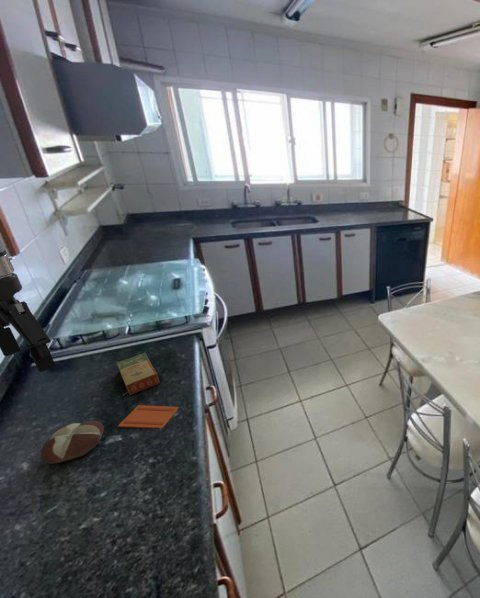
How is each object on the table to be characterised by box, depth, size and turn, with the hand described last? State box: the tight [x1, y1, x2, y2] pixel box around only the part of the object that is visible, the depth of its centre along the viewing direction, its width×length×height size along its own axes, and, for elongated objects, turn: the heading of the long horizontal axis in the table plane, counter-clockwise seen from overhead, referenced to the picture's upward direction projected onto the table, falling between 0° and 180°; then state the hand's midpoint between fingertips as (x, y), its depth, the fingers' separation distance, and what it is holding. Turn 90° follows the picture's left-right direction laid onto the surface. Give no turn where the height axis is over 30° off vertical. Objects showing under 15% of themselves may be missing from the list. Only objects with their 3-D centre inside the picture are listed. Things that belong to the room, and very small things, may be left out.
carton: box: [116, 352, 161, 396], centre depth 107 cm, size 8×16×4 cm, turn 46°
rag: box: [117, 404, 179, 429], centre depth 94 cm, size 12×8×1 cm, turn 91°
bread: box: [40, 420, 105, 465], centre depth 83 cm, size 11×11×5 cm
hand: (29, 360), depth 77 cm, fingers open, 13 cm apart
